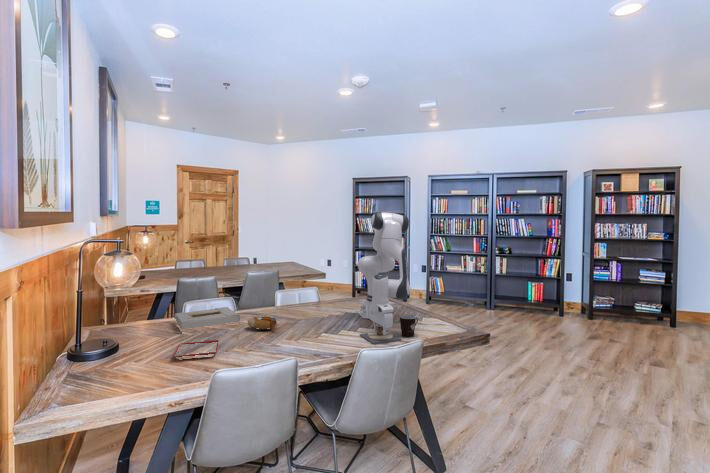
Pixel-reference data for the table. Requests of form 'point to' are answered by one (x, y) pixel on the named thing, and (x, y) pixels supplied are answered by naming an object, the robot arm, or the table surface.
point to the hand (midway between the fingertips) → (380, 332)
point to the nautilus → (263, 322)
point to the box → (206, 317)
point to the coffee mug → (408, 325)
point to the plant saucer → (199, 353)
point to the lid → (380, 334)
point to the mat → (380, 340)
